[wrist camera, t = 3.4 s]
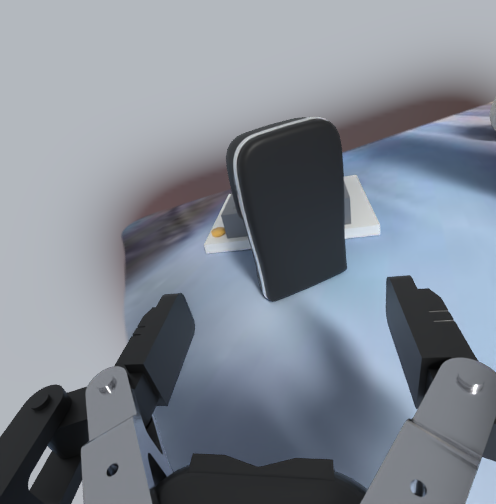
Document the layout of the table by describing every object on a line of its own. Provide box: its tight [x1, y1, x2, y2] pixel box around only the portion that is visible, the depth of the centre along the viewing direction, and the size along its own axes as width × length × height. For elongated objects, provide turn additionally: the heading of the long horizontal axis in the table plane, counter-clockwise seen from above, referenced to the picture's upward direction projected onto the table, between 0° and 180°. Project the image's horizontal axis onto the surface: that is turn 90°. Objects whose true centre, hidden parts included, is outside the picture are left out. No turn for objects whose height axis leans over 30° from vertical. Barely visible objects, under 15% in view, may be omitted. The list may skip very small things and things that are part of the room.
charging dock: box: [204, 175, 380, 254], centre depth 33 cm, size 16×13×4 cm
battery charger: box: [226, 117, 347, 301], centre depth 21 cm, size 7×4×11 cm, turn 112°
